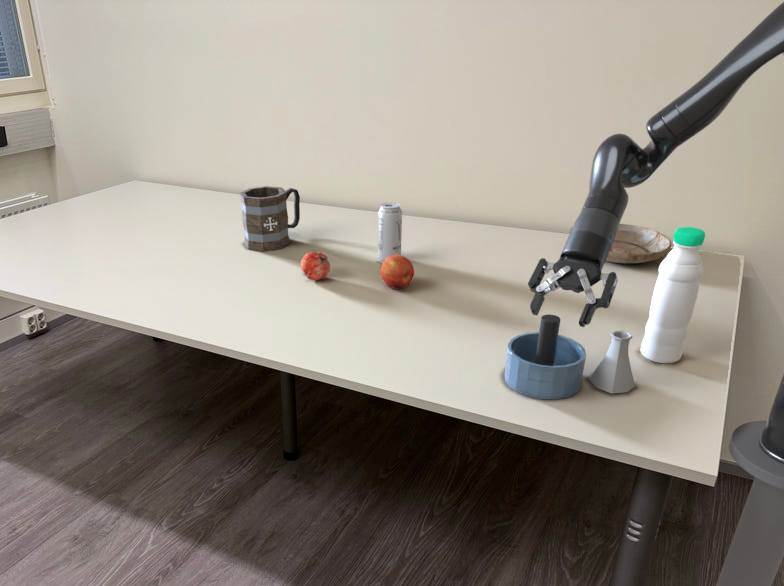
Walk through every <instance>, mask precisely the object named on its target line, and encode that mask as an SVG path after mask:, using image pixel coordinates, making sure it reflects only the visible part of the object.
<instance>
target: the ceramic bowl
mask: <svg viewBox="0 0 784 586" xmlns="http://www.w3.org/2000/svg"><path fill="white" fill-rule="evenodd" d="M671 249H672V241H671V239H670V238H669V237H668V236H666V235H665V234H663V233H662V232H660V231H657V230H655V229H651V228H648V227H644V226H639V225H634V224H629V223H628V224H627V223H620V224H619V227H618V231H617V234H616V237H615V239H614V242H613V244H612V247H611V249H610V251H609V254H608V256H607V259H606V261H605V262H610V263H615V264H641V263H648V262H653V261H656V260H658V259H660V258H662V257H664V256H665V255H667V254H668V253H669V252H670V251H671Z"/></svg>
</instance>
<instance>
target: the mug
mask: <svg viewBox="0 0 784 586" xmlns="http://www.w3.org/2000/svg"><path fill="white" fill-rule="evenodd" d="M292 193H293V195H294V196H293V197H294V202H293V210H294V211H293V213H294V217H293V222H292V223H291V224H289V214H288V208H287V201H288V199H289V197H290V195H291V194H292ZM239 197H240V202H241V219H242V220H241V221H242V226H243V232H244V233H243V235H244V241H243V243H244V245H245V247H246V248H247V249H248V250H253V251H260V252H269V251H273V250H281V249H283V248H285V247H286V246H287V245H289V244H290V243H291V241H290V236H289V229H296V227H297V226H299V222H300V219H301V211H300V210H301V209H300V204H301V203H300V202H301V201H300V200H301V197H300V193H299V190H298V189H296V188H293V187H291V188H290V187H289V188H288V189H287V190H285V189H284V188H283V187H279V186H269V185H267V186H266V185H265V186H258V187H250V188H249V187H248V188H247V189H245V190H242V191H240V192H239Z"/></svg>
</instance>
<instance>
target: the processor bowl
mask: <svg viewBox="0 0 784 586" xmlns="http://www.w3.org/2000/svg"><path fill="white" fill-rule="evenodd" d="M538 336H539V331H536V332H525V333H522V334H518V335H515V336H514V337H513V338H511V339H510V340H509V341H508V343H507V347H506V348H507V349H506V356H505V365H504V376H503V377H504V381H505V383H506V385H508V386H509V388H510V389H512V390H513V391H514V392H517V393H519V394H522V395H523V396H526V397H530V398H534V399H539V400H560V399H566V398H569V397H571V396H573V395H575V394H577V392H578V391H579V390H580V388H581V384H582V381H583V376H584V375H583V374H584V371H585V364H586V359H587V352H586V349H585V347H584V346H583V345H582V344H581V343H579V342H578V341H576V340H574V339H572V338H571V337H568V336H565V335H562V334H558V339H557V346H556V352H555V358H554V365H553V366H547V365H540V364H535V358H536V351H537V344H538Z"/></svg>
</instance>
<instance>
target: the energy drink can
mask: <svg viewBox="0 0 784 586" xmlns="http://www.w3.org/2000/svg"><path fill="white" fill-rule="evenodd" d="M402 231H403V210H402V209H401V207H400V204H399V203H397V202H385V203H382V204H381V205H380V208H379V209H378V234H377V235H378V242H377V247H378V248H377V250H378V251H377V256H378V257H377V258H378V259H379V261H380V262H381V263H383V261H384V260H385V259H386V258H387V257H389V256H390V255H394V254H397V255H402V233H403V232H402Z"/></svg>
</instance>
